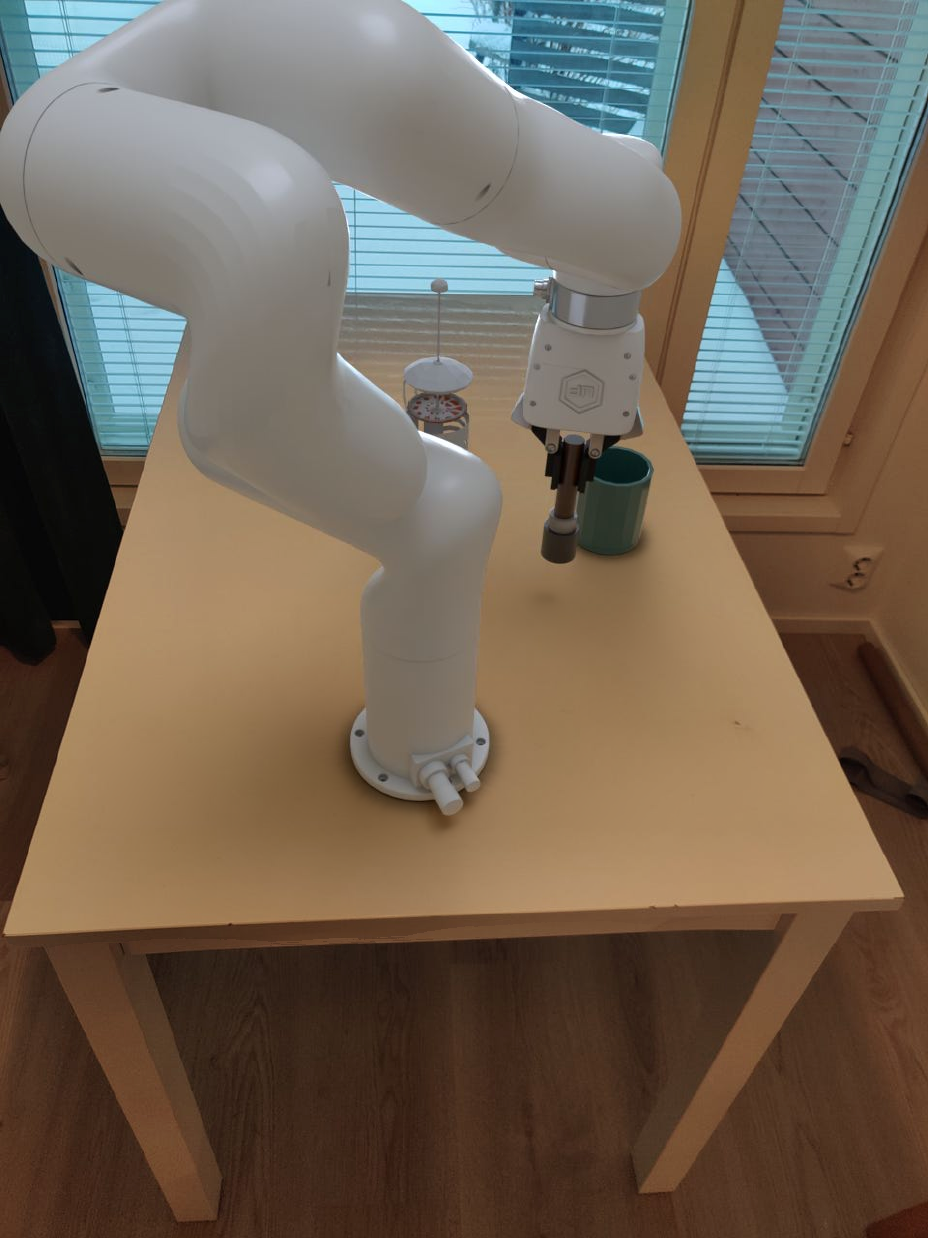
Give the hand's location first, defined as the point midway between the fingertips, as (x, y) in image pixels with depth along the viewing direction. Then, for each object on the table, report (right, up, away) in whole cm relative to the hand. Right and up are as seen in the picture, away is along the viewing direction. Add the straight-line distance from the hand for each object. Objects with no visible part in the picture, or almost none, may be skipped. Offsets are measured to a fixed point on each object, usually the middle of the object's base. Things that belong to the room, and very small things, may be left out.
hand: (568, 482), depth 91 cm
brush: (0, -6, +6) cm, 9 cm away
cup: (+6, -3, +19) cm, 20 cm away
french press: (-14, +5, +27) cm, 31 cm away
